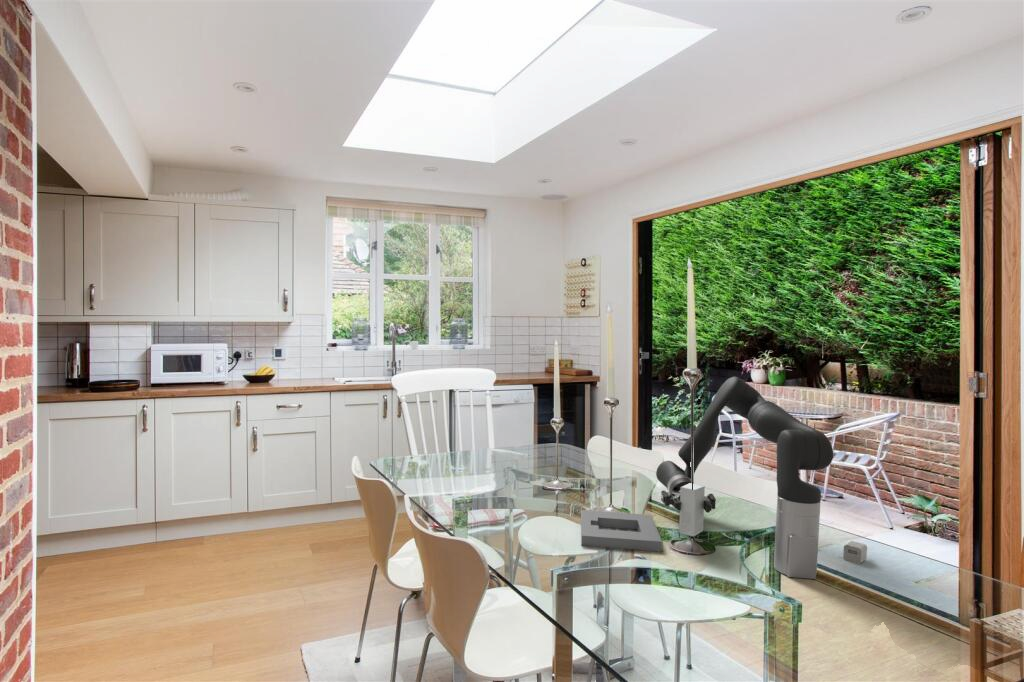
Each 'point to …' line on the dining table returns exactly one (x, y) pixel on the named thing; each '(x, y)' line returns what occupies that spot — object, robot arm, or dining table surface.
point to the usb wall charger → (855, 552)
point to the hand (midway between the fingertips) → (693, 507)
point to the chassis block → (619, 539)
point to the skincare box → (691, 509)
